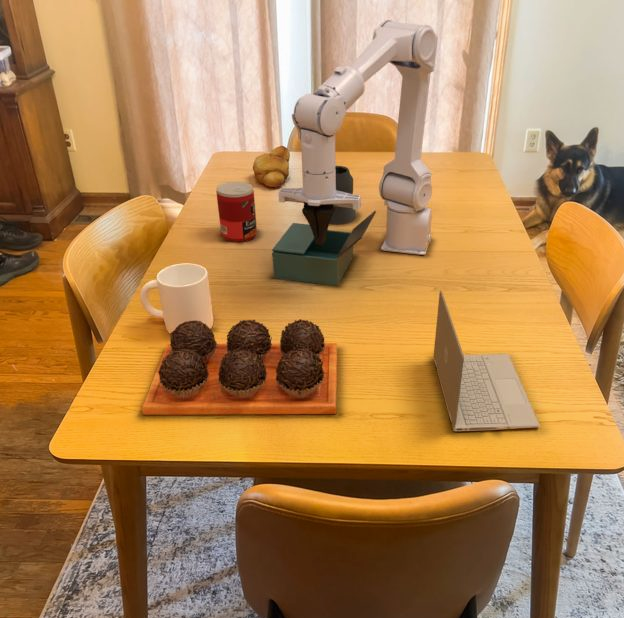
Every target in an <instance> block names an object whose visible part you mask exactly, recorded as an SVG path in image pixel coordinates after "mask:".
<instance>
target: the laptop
mask: <svg viewBox="0 0 624 618" xmlns="http://www.w3.org/2000/svg"><path fill="white" fill-rule="evenodd" d="M434 335H435V336H434V346H433V347H434V348H433V361H434V364H435V367H436V372H437V375H438V380H439V383H440V386H441V390H442V394H443V399H444V401H445V405H446V409H447V413H448V416H449V419H450V422H451V427H452V431H453V432H473V431H475V432H477V431H496V430H497V431H498V430H513V429H514V430H515V429H529V428H540V427H541V425H540V423H539V421H538V418H537V415H536V414H535V411H534V409H533V406H532V403H531V402H530V400H529V398H528V395H527V393H526V391H525V389H524V386H523V384H522V381H521V379H520V377H519V374H518V372H517V370H516V368H515V366H514V363H513V361H512V359H511V357H510V354H508V353H496V354H493V353H492V354H464V353H463V349H462V346H461V343H460V340H459V337H458V335H457V332H456V328H455V326H454V323H453V320H452V317H451V314H450V311H449V308H448V305H447V302H446V299H445V297H444V294H443V291H442V290H439V294H438V303H437V316H436V326H435V334H434Z"/></svg>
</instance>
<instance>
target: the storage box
mask: <svg viewBox="0 0 624 618" xmlns="http://www.w3.org/2000/svg"><path fill="white" fill-rule="evenodd" d="M351 232H352V231H351ZM351 232H350V231H342V230H332V229H328V230H327V234H326V241H325V242H324V244H323V245H321V244H316V243H315V239H314V235H313V232H312V229H311V227H310V225H309V223H300V222H299V223H298V222H292V223H291V225H290V226H289V227H288V228H287V230H286V231H285V232H284V234H283V235H282V236H281V237H280V239H279V240H278V241H277V242H276V243H275V244H274V246H273V247H272V252H271V256H272V271H273V279H279V280H287V281H294V282H303V283H311V284H318V285H319V284H320V285H328V286H336V287H338V285H339V284H340V282H341V280H342V278H343V276H344V274H345V273H346V272H347V269H348V267H349V265H350V264H351V263H352V260H353V258H354V245H353V246H352V247H351V248H350V249H348V250H347V251H346V252H345V253H343V254H342V255H341V256H340V257H339V258H338V257H337V256H338V254H339V252H340V251H341V249H342V247H343V245H344V244H345V242H346V240H347V239H348V237H349V235H350V234H351Z"/></svg>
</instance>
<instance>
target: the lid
mask: <svg viewBox="0 0 624 618" xmlns="http://www.w3.org/2000/svg"><path fill="white" fill-rule="evenodd" d="M376 213H377V211H376V210H374V211H373V212H372V213H371V214H369V215H368V216H367V217H366V218H365V219H363V220H361V222H360V223H358V224H357V225H356V226H355V227H354V228H352V230H351V234H350V235H349V237H348V239H347V240H346V242H345V244H344V245H343V247H342V249H341V251H340V252H339V254H338V256H337V257H338V258H339V257H340V256H341V255H342V254H343V253H345V252H346V251H347V250H348V249H350V248H351V247H352V246H353V247H354V245H356V244H357V243H359V241H360V240H362V239H363V237H364V235H365V233H366V231H367V230H368V228H369V226H370V225H371V222H372V220H373V219H374V217H375V215H376Z"/></svg>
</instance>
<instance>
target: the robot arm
mask: <svg viewBox="0 0 624 618" xmlns="http://www.w3.org/2000/svg"><path fill="white" fill-rule="evenodd" d="M438 39H439V37H438V35H437V34H436V32H435V30H434V29H433V27H432V26H431V25H430V24H416V23H409V22H401V21H393V20H391V19H385V20H383V21H382V22H380V24H379V25H378V26H377V27H376V28H374V30H373V35H372V41H371V42H370V43H369V44H368V46H366V47H365V49H364V50H363V51H362V52H361V53H360V55H359V56H358V57H356V59H355V61H354V62H353V63H352V64H351V65H350V66H349V65H343V66H342V65H341V66H337V67H336V68H335V69H334V70H333V73H332V74H331V75H330V76H329V77H328V78H327V79H326V80H325V81H324V82H323V83H322V84H320V85H319V86H318V87H317V89H315V90H314V91H313V93H306V94H303V95H302V96H300V97H299V98H298V99H297V100H296V102H295V104H294V108H293V113H292V114H291V120H292V123H293V125H294V127H295V128H296V130H297V138H298V140H299V141H300V149H301V151H300V152H301V175H302V187H294V188H293V187H292V188H291V187H282V188H280V189H279V191H278V193H277V194H278V203H286V202H290V203H297V204H298V203H299V204H303V208H302V209H301V212H302V216H304V218H305V219H306V222H307V224H308V225H310V227H311V229H312V232H313V235H314V239H315V243H316V244H321V245H323V244H324V242H325V241H326V234H327V230H329V225H330V224H329V223H330V220H331V217H332V215H333V213H334V210H335V208H336V206H338V207H348V208H353V210H355V211H359V210H360V209H361V207H362V195H359V194H354V193H353V194H349V193H345V192H341V191H337V190H336V169H335V168H336V166H337V165H336V133H338V132H339V131H340V129H341V127H342V124H343V121H344V118H345V117H346V115H347V112H348V110H349V109H350V108H351V107H352V106H353V105H354V104H355V103H356V102H357V101H358V100H359V99H360V98H361V96H363V94H364V93H365V88H366V87H365V83H366V82H367V81H369V80H370V79H371V78H372V77H373V76H375V75H376V74H377V73H378V72H379V71H380V70H381V69H383V68H385V66H386V65H388V63H389V64H390V65H392V66H394V67H395V68H396V70H397V71H398V73H400V75H401V87H400V99H399V109H398V118H397V131H396V138H395V150H394V158H393V159H392V160H390V161H389V162H388V163H386V164H385V165H384V166H383V172H382V175H381V179H380V181H379V185H378V192H379V196H380V198H381V199H382V200H383V202H384V204H383V205H384V206H386V226H385V227H386V231H385V235H386V236H385V239H384V241H383V243H382V244H381V247H380V250H381V251H382V252H383V251H384V252H390V253H391V252H393V253H401V254H411V255H420V256H425V255H426V253H427V251H428V247H429V246H430V243H431V239H432V234H431V230H432V219H433V209H432V208H431V207H427V206H428V204H429V203H430V201H431V199H432V196H433V195H432V194H433V186H432V172H431V170H430V169H429V168H428V166H427V165H426V164H425V163H424V162H423V161H422V152H423V142H424V134H425V125H426V117H427V109H428V100H429V92H430V82H431V74H432V73H433V72H434V71H435V66H436V59H437V58H436V57H437V48H438Z"/></svg>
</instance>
